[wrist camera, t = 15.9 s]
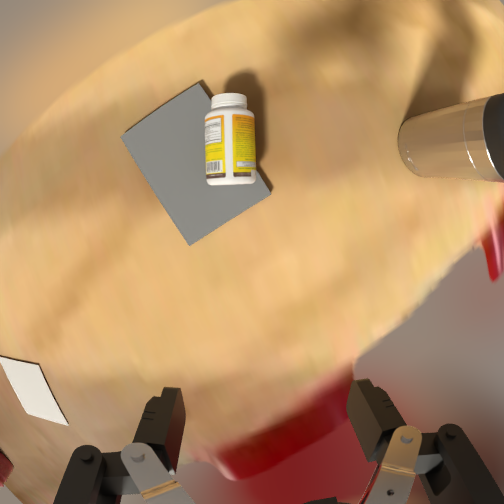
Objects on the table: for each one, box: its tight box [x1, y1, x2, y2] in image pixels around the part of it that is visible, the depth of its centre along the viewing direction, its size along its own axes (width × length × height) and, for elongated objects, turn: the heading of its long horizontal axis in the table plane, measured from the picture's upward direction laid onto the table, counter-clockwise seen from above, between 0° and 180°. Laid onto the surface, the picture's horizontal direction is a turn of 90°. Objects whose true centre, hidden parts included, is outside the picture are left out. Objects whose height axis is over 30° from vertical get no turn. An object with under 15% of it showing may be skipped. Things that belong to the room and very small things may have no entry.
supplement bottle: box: [205, 93, 256, 185], centre depth 31 cm, size 6×6×10 cm
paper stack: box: [0, 357, 69, 426], centre depth 42 cm, size 23×25×1 cm
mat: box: [121, 83, 271, 246], centre depth 34 cm, size 12×17×1 cm
